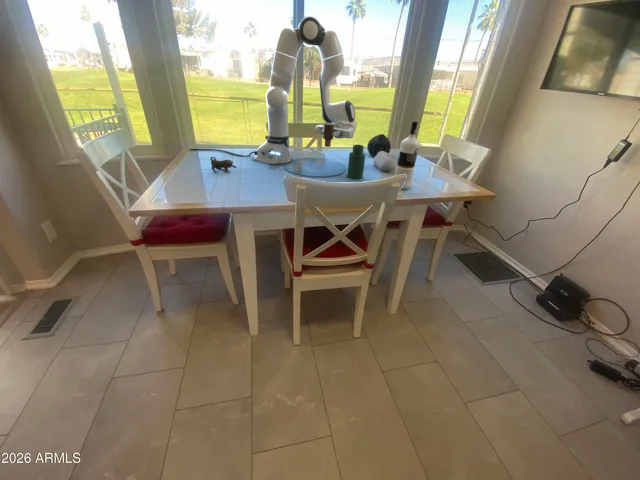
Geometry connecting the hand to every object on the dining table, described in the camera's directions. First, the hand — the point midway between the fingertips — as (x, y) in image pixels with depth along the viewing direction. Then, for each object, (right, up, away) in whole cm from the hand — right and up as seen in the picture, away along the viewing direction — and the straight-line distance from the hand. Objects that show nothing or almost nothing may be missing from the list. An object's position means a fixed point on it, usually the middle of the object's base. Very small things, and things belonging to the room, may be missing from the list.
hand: (327, 133), depth 138 cm
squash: (+35, +2, +42) cm, 55 cm away
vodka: (+36, -28, -4) cm, 46 cm away
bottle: (+14, -21, +5) cm, 26 cm away
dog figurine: (-54, -19, +3) cm, 57 cm away
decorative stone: (+34, -13, +20) cm, 41 cm away
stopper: (0, -5, +4) cm, 7 cm away
